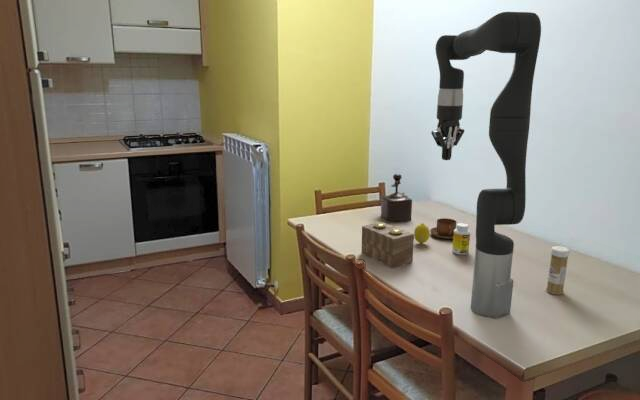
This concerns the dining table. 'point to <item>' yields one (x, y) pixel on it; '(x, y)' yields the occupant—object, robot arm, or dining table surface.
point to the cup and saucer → (444, 228)
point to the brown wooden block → (387, 245)
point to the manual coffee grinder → (396, 205)
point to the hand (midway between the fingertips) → (446, 159)
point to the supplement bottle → (461, 239)
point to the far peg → (379, 225)
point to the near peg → (395, 231)
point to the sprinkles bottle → (557, 270)
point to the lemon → (421, 233)
